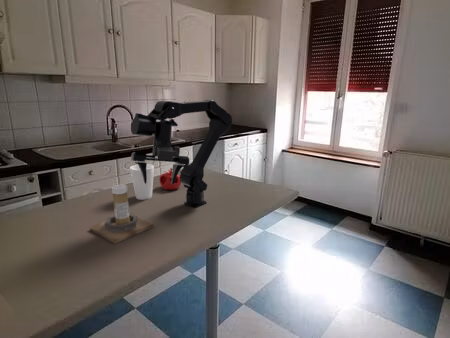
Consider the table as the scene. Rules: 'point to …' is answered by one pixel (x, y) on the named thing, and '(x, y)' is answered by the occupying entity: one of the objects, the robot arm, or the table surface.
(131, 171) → the foam cup
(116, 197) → the sprinkles bottle
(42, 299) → the table surface
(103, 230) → the collar plate
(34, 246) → the table surface
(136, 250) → the table surface
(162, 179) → the pomegranate
